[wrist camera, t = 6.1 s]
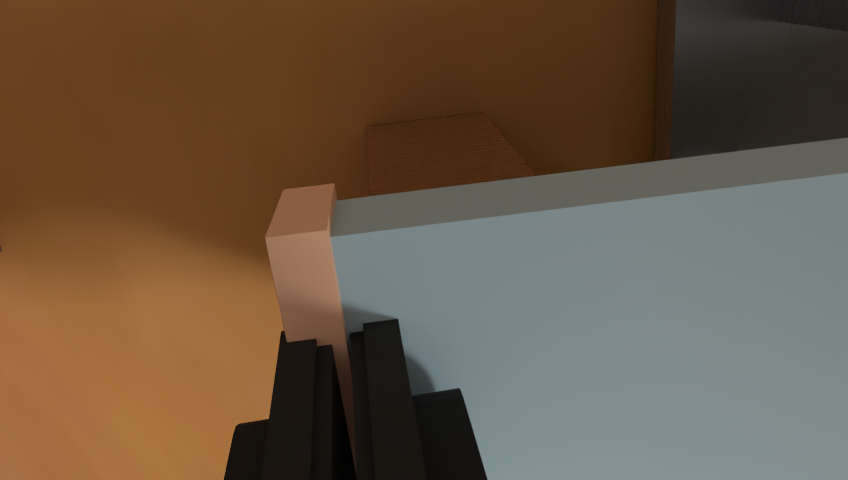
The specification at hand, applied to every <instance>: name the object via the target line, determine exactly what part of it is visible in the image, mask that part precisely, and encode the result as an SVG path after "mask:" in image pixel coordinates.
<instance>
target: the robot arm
mask: <svg viewBox="0 0 848 480" xmlns="http://www.w3.org/2000/svg"><path fill="white" fill-rule="evenodd" d="M350 342H351V365H352V388H353V410H354V433H355V456H356V471H355V466H354V461H353V455H352V450H351V444H350V439H349V434H348V428H347V423H346V418H345V412H344V407H343V401H342V396H341V391H340V385H339V380H338V375H337V369H336V364H335V358H334V353H333V348H332V344H331V345H323V346H317V341H316V338H315V339H308V340H300V341H292V342H287V340H286V335H285V331H282V332H281V337H280V344H279V352H278V359H277V366H276V373H275V380H274V387H273V394H272V401H271V408H270V416H269V419H266V420H260V421H254V422H248V423H241V424H238V425H237V426H236V428H235V431H234V434H233V439H232V443H231V448H230V453H229V458H228V462H227V467H226V472H225V476H224V480H488V479H487V476H486V472H485V469H484V466H483V462H482V459H481V456H480V452H479V449H478V445H477V442H476V439H475V435H474V432H473V428H472V425H471V422H470V418H469V415H468V412H467V408H466V405H465V401H464V398H463V395H462V392H461V390H460V388H456V389H449V390H443V391H437V392H431V393H425V394H419V395H413V396H412V394H411V388H410V383H409V377H408V372H407V366H406V360H405V355H404V349H403V344H402V338H401V332H400V327H399V321H398V319H392V320H384V321H377V322H369V323H363V331H360V332H352V333H350Z"/></svg>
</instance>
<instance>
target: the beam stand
mask: <svg viewBox="0 0 848 480" xmlns="http://www.w3.org/2000/svg"><path fill="white" fill-rule="evenodd" d="M366 135H367V154H368V173H369V192H370V196H377V195H385V194H393V193H401V192H409V191H418V190H426V189H434V188H442V187H450V186H458V185H466V184H475V183H483V182H491V181H499V180H507V179H515V178H523V177H532V176H537V175H536V174H535V173H534V172H533V171H532V169H531V168H530V167H529V166H528V165H527V163H526V162H525V161H524V160H523V159H522V157H521V156H520V155H519V154H518V153H517V151H516V150H515V149H514V148H513V147H512V146H511V144H510V143H509V142H508V141H507V140H506V138H505V137H504V136H503V135H502V134H501V132H500V131H499V130H498V129H497V128H496V126H495V125H494V124H493V123H492V122H491V121H490V119H489V118H488V117H487V116H486V115H485V113H484V112H480V113H472V114H464V115H456V116H448V117H440V118H432V119H424V120H416V121H408V122H400V123H392V124H384V125H376V126H368V127H366ZM841 138H848V0H659V4H658V41H657V77H656V114H655V151H654V161H662V160H670V159H678V158H686V157H694V156H703V155H711V154H719V153H727V152H735V151H743V150H751V149H760V148H768V147H776V146H784V145H792V144H800V143H808V142H817V141H825V140H833V139H841Z"/></svg>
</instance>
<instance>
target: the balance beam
mask: <svg viewBox="0 0 848 480" xmlns="http://www.w3.org/2000/svg"><path fill="white" fill-rule="evenodd" d="M265 241H266V246H267V250H268V255H269V260H270V265H271V269H272V274H273V279H274V283H275V288H276V293H277V298H278V302H279V307H280V312H281V316H282V321H283V326H284V331H285V335H286V340H287V342H292V341H300V340H308V339H315V338H316V341H317V346H323V345H331V344H332V348H333V353H334V358H335V364H336V369H337V375H338V380H339V385H340V391H341V396H342V401H343V407H344V412H345V418H346V423H347V428H348V434H349V439H350V444H351V450H352V455H353V461H354V466H355V471H356V456H355V433H354V410H353V388H352V365H351V342H350V333H352V332H360V331H363V323H369V322H377V321H384V320H392V319H398V321H399V327H400V332H401V338H402V344H403V349H404V355H405V360H406V366H407V372H408V377H409V383H410V388H411V394H412V396H413V395H419V394H425V393H431V392H437V391H443V390H449V389H456V388H460V390H461V392H462V395H463V398H464V401H465V405H466V408H467V412H468V415H469V418H470V422H471V425H472V428H473V432H474V435H475V439H476V442H477V445H478V449H479V452H480V456H481V459H482V462H483V466H484V469H485V472H486V476H487V479H488V480H848V138H841V139H833V140H825V141H817V142H808V143H800V144H792V145H784V146H776V147H768V148H760V149H751V150H743V151H735V152H727V153H719V154H711V155H703V156H694V157H686V158H678V159H670V160H662V161H654V162H646V163H637V164H629V165H621V166H613V167H605V168H597V169H589V170H580V171H572V172H564V173H556V174H548V175H540V176H532V177H523V178H515V179H507V180H499V181H491V182H483V183H475V184H466V185H458V186H450V187H442V188H434V189H426V190H418V191H409V192H401V193H393V194H385V195H377V196H369V197H361V198H352V199H344V200H337V195H336V189H335V183H333V184H325V185H316V186H308V187H300V188H292V189H284V190H283V192H282V194H281V197H280V200H279V202H278V205H277V208H276V210H275V213H274V215H273V218H272V221H271V223H270V226H269V228H268V231H267V234H266V236H265Z"/></svg>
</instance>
